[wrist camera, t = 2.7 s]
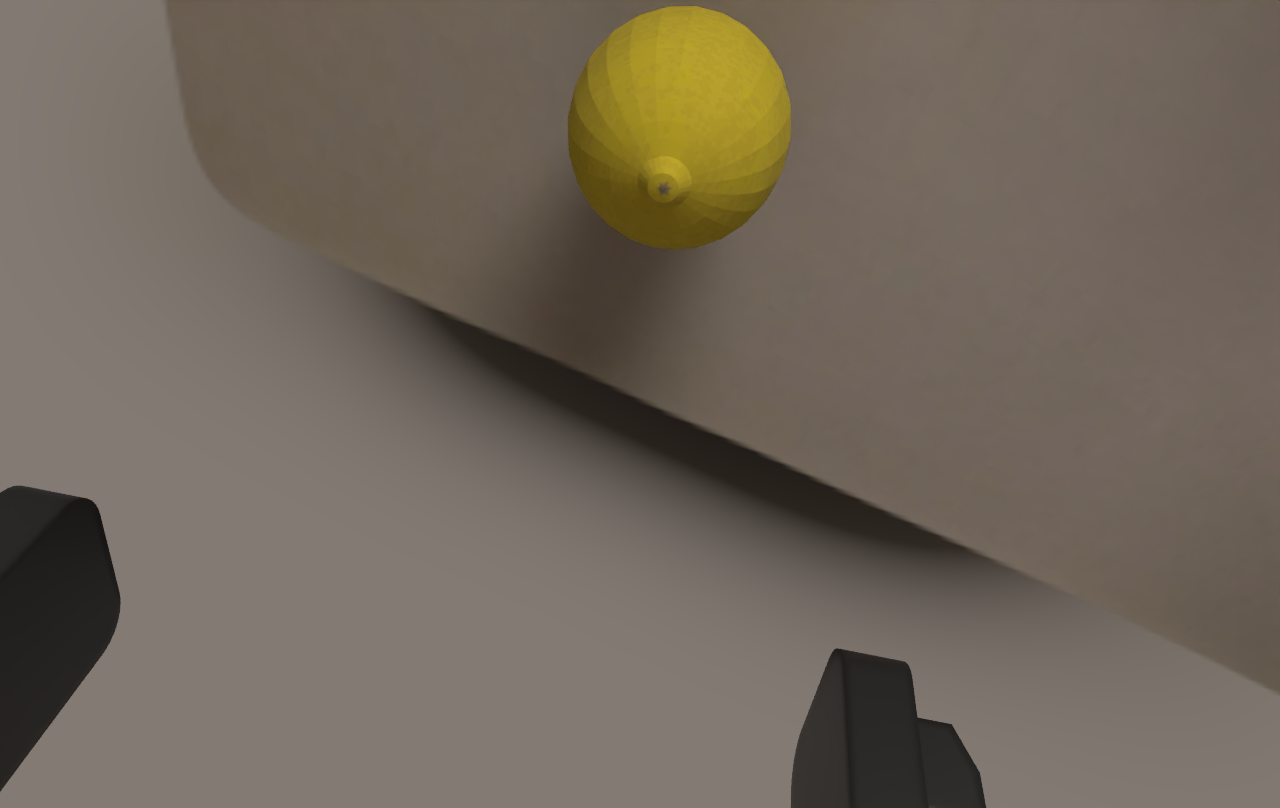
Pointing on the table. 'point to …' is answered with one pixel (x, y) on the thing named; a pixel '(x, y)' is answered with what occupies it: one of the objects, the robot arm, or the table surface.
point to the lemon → (679, 127)
